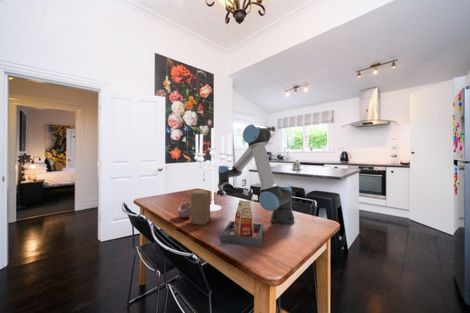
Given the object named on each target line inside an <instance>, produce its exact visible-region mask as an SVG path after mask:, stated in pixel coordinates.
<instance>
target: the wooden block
mask: <svg viewBox="0 0 470 313" xmlns="http://www.w3.org/2000/svg"><path fill="white" fill-rule="evenodd" d="M190 202H191V216H190V224H191V225H202V226H203V225H206V224H207V223H209V221H210V220H211V191H210V190H207V189H206V190H205V189H204V190H201V189H197V190H193V192H191V193H190Z"/></svg>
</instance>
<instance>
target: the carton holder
mask: <svg viewBox="0 0 470 313" xmlns="http://www.w3.org/2000/svg"><path fill="white" fill-rule="evenodd" d="M234 222H235V220H230V221H229V222H228V223H227V224H226V226H225V227H224V229H223V231H222V232H221V234H220V243H221V244H228V245H229V244H230V245H239V246H249V247H259V248H261V247H262V242H263V235H264V231H265V229H264V228H265V227H264V226H265V224H264V223H261V222H253V229H254V231H256V232H258V234H257V236H254V237H253V236H242V235H234V234H230V233H231V231H232V230H234Z"/></svg>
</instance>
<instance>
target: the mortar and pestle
mask: <svg viewBox="0 0 470 313" xmlns="http://www.w3.org/2000/svg"><path fill="white" fill-rule="evenodd" d="M175 212H176V213H177V215H178V217H180V218H183V219H187V218H191V200H189V201H182V203H181V204H180V205H179V206H178V207H177V208H176V211H175Z"/></svg>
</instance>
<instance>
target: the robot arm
mask: <svg viewBox="0 0 470 313" xmlns="http://www.w3.org/2000/svg"><path fill="white" fill-rule="evenodd" d="M271 134H272V133H271V130H270V129H269V128H268V127H266V126H264V125H263V126H262V125H257V124H248V125H246V127H245V128H244V130H243V131H242V140H243V141H244V142H246V143H247V145H248V148H247V149H246V150H245V151H244V153H242V155H241V156H240V157H239V158H238V160H237V161H236V162H235V163H234V165H233V166H231V167H230V166H228V165H219V166H218V170H217V172H218V183H217V188H218V190H217V191H216V195H217V196H219V197H223V198H227V196H231V195H232V194H237V193H239V194H243V195H245V196H249V189H248V188H246V187H244V188H243V187H239V186H238V187H234V185H232V183H230V178H236V177H240V176H241V175H242V174H243V170H244V169H245V168H246V167H247V165H248V164H249V163H250V162H251V161H252V160H254V162H255V167H256V170H257V173H258V174H257V175H258V178H259V182H260V185H261V186H260V189H259V192H260V194H259V196H258V202H259V205H260V207H261V208H262V209H264V210H265V211H269V212H271V215H270V220H271V222H273V223H275V224H279V225H292V224H294V223H295V215H294V212H293V209H292V204H293V203H292V201H293V198H292V194H293V191H292V190H293V189H292V187H291V186H288V185H279V184H277V183H276V180H275V177H274V175H273V170H272V166H271V163H270V160H269V156H268V152H267V151H268V150H267V148H266V146H268V143H269V141H270V140H271V137H272V136H271Z"/></svg>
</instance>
